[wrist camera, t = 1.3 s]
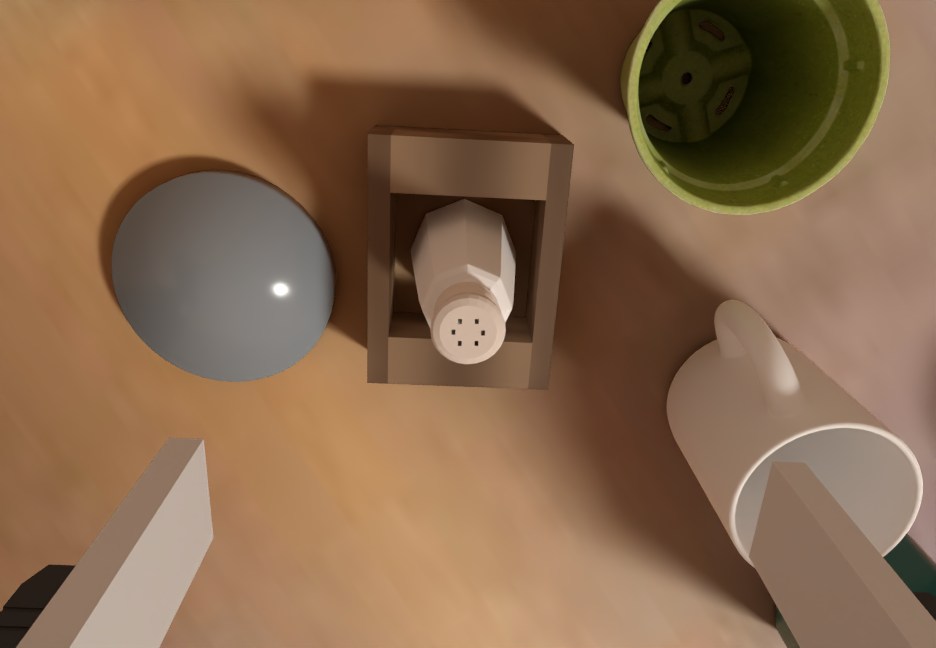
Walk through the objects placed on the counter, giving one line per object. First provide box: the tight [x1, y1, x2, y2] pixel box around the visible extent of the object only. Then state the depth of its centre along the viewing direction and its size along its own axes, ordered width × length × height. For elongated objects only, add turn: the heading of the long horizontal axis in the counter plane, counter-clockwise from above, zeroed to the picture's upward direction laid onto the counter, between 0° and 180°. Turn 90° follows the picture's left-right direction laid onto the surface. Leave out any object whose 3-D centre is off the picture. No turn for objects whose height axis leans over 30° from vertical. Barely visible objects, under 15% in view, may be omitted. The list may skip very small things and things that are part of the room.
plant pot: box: [620, 0, 890, 215], centre depth 29 cm, size 9×9×9 cm
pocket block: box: [367, 125, 574, 390], centre depth 35 cm, size 9×12×4 cm
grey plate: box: [111, 170, 336, 382], centre depth 36 cm, size 11×11×1 cm
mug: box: [667, 300, 923, 568], centre depth 34 cm, size 12×8×10 cm
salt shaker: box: [410, 199, 516, 364], centre depth 31 cm, size 5×5×11 cm
